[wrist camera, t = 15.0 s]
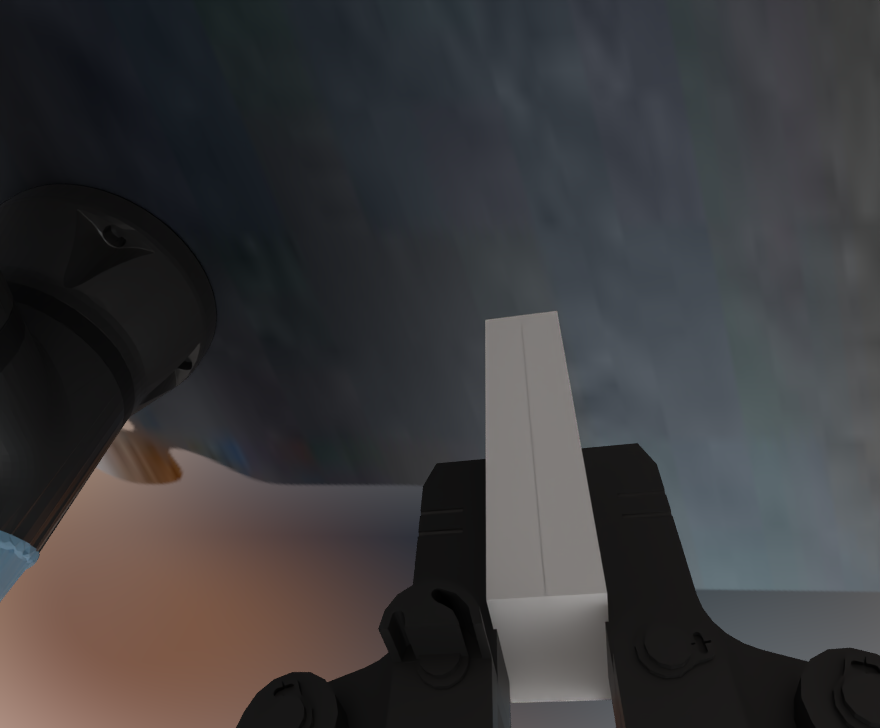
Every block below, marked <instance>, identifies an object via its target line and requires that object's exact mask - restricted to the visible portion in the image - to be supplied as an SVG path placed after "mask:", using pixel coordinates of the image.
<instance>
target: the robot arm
mask: <svg viewBox="0 0 880 728" xmlns="http://www.w3.org/2000/svg"><path fill="white" fill-rule="evenodd" d="M215 328H216V305H215V299H214V295H213V292H212V289H211V286H210V283H209V281H208V279H207V276H206V274H205V272H204V270H203V269H202V267H201V265H200V264H199V262H198V261H197V259H196V258H195V256H194V255H193V253H192V252H191V251H190V250H189V248H188V247H187V246H186V245H185V244H184V242H183V241H182V240H181V239H180V238H179V237H178V236H177V235H176V234H175V233H174V232H173V231H172V230H170V229H169V228H168V227H167V226H166V225H165V224H163V223H162V222H161V221H160V220H158V219H157V218H156V217H154V216H153V215H151V214H150V213H148V212H147V211H145V210H144V209H142V208H140V207H139V206H137V205H135V204H133V203H131V202H129V201H127V200H125V199H123V198H121V197H118V196H116V195H113V194H110V193H108V192H105V191H101V190H98V189H94V188H90V187H85V186H79V185H69V184H55V185H45V186H39V187H35V188H32V189H29V190H26V191H23V192H21V193H19V194H17V195H16V196H14V197H12V198H11V199H9V200H7V201H6V202H4V203H3V204H1V205H0V601H1V600H2V599H3V598H4V596H5V595H6V594H7V592H8V591H9V590H10V588H11V587H12V586H13V585H14V584H15V582H16V581H17V580H18V578H19V577H20V576H21V575H22V574H23V572H24V571H25V570H26V569H28V568H29V567H31V566H33V565H34V564H35V563H36V561H37V560H38V558H39V555H40V554H39V552H40V551H41V549H42V548H43V546H44V545H45V543H46V542H47V540H48V539H49V537H50V536H51V534H52V533H53V531H54V530H55V528H56V527H57V525H58V524H59V522H60V521H61V519H62V518H63V516H64V514H65V513H66V511H67V510H68V509H69V507H70V506H71V504H72V503H73V501H74V499H75V498H76V496H77V495H78V493H79V492H80V491H81V489H82V487H83V486H84V484H85V483H86V481H87V480H88V478H89V477H90V475H91V474H92V472H93V471H94V469H95V468H96V466H97V465H98V463H99V462H100V460H101V459H102V457H103V456H104V454H105V453H106V451H107V450H108V448H109V447H110V445H111V444H112V442H113V441H114V439H115V438H116V436H117V435H118V433H119V432H120V430H121V429H122V427H123V426H124V424H125V423H126V421H127V420H128V419H129V417H130V416H132V415H133V414H135V413H136V412H138V411H139V410H141V409H143V408H144V407H146V406H147V405H149V404H150V403H152V402H153V401H155V400H156V399H158V398H159V397H161V396H163V395H164V394H166V393H167V392H169V391H170V390H172V389H173V388H175V387H176V386H178V385H179V384H180V383H182V382H183V381H184V380H185V379H186V378H187V377H188V376H189V375H190V374H191V373H192V372H193V371H194V370H195V368H196V367H197V366H198V364H199V362H200V361H201V359H202V358H203V356H204V354H205V353H206V351H207V350H208V348H209V346H210V344H211V342H212V339H213V336H214V333H215ZM485 374H486V459H480V460H469V461H459V462H448V463H437V464H436V465H435V467H434V469H433V471H432V472H431V474H430V476H429V477H428V479H427V481H426V482H425V484H424V486H423V493H422V503H421V516H420V522H419V537H418V542H417V551H416V561H415V570H414V580H413V585H412V586H411V587H409V588H407V589H406V590H404V591H403V592H401V593H399V594H398V595H397V596H396V597H395V598H394V600H393V601H392V602H391V603H390V604H389V606H388V607H387V608H386V609H385V611H384V614H383V617H382V620H381V623H380V626H379V632H380V634H381V636H382V638H383V640H384V643H385V645H386V647H387V649H388V652H389V653H387V654H386V655H385V656H384V657H382V658H381V659H380V660H379V661H377V662H375V663H373V664H371V665H369V666H367V667H365V668H363V669H360V670H358V671H355V672H353V673H350V674H347V675H345V676H342V677H340V678H337V679H335V680H332V681H330V682H326V680H325V679H323V678H321V677H319V676H317V675H315V674H313V673H311V672H292V673H289V674H287V675H284V676H281V677H279V678H277V679H274V680H273V681H271V682H270V683H269V684H268V685H267V686H265V687H264V688H263V689H262V690H261V691H259V692H258V693H257V694H256V696H255V697H254V698H253V700H252V701H251V703H250V704H249V706H248V707H247V708H246V710H245V711H244V713H243V715H242V717H241V719H240V721H239V723H238V725H237V727H236V728H511V713H510V698H511V702H512V703H518V702H519V703H520V702H521V703H522V702H554V701H586V700H587V701H588V700H612V704H613V710H614V716H615V723H616V728H880V656H879V655H877V654H874V653H870V652H866V651H862V650H858V649H854V648H842V649H828V650H826V651H824V652H822V653H821V654H819V655H817V656H815V657H814V658H812V659H810V661H809V662H807V661H803V660H800V659H795V658H792V657H787V656H784V655H780V654H776V653H772V652H768V651H765V650H761V649H758V648H755V647H752V646H750V645H747V644H744V643H742V642H740V641H739V640H737V639H735V638H733V637H732V636H730V635H728V634H727V633H725V632H724V631H723V630H722V629H721V628H720V627H718V626H717V625H716V624H715V623H714V622H713V621H712V620H711V618H710V617H709V616H708V615H707V613H706V612H705V611H704V609H703V608H702V605H701V603H700V601H699V599H698V597H697V594H696V591H695V588H694V584H693V581H692V578H691V575H690V571H689V568H688V565H687V562H686V558H685V555H684V552H683V548H682V545H681V542H680V539H679V535H678V532H677V529H676V526H675V522H674V519H673V516H672V515H671V509H670V506H669V503H668V500H667V496H666V495H665V491H664V486H663V483H662V480H661V477H660V473H659V470H658V467H657V464H656V463H655V462H654V461H653V460H652V459H651V457H650V456H649V455H648V454H647V453H646V452H645V451H644V450H643V449H642V448H641V447H640V446H639V444H638V443H635V444H624V445H614V446H603V447H592V448H581V443H580V438H579V432H578V426H577V421H576V415H575V410H574V404H573V398H572V393H571V387H570V381H569V376H568V370H567V365H566V359H565V353H564V348H563V342H562V337H561V331H560V325H559V320H558V314H557V311H552V312H544V313H536V314H528V315H520V316H513V317H505V318H497V319H489V320H485Z"/></svg>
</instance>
